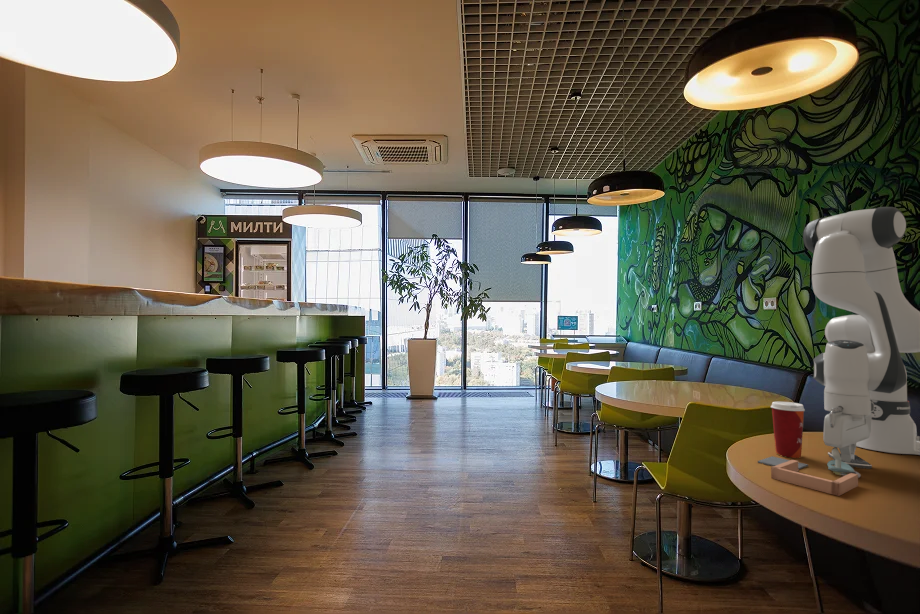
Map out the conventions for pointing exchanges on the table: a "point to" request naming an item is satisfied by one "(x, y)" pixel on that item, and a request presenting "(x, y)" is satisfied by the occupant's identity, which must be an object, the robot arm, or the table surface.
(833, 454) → the pacifier
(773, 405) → the paper cup
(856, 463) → the cell phone
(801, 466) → the gray tile
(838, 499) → the table surface
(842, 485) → the pink u-shaped bracket
